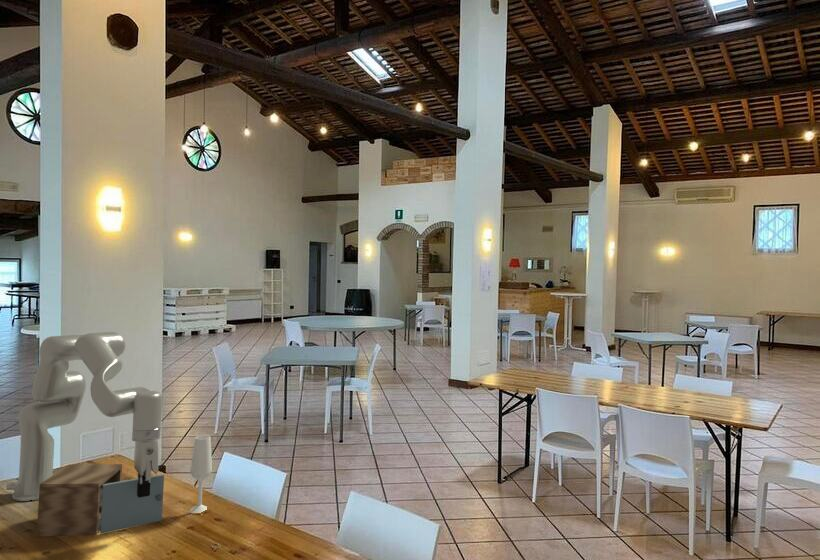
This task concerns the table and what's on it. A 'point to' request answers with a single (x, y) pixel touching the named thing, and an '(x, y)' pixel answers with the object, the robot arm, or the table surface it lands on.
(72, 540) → the table surface
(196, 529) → the table surface
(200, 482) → the champagne flute
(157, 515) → the cabinet door
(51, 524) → the walnut cabinet
